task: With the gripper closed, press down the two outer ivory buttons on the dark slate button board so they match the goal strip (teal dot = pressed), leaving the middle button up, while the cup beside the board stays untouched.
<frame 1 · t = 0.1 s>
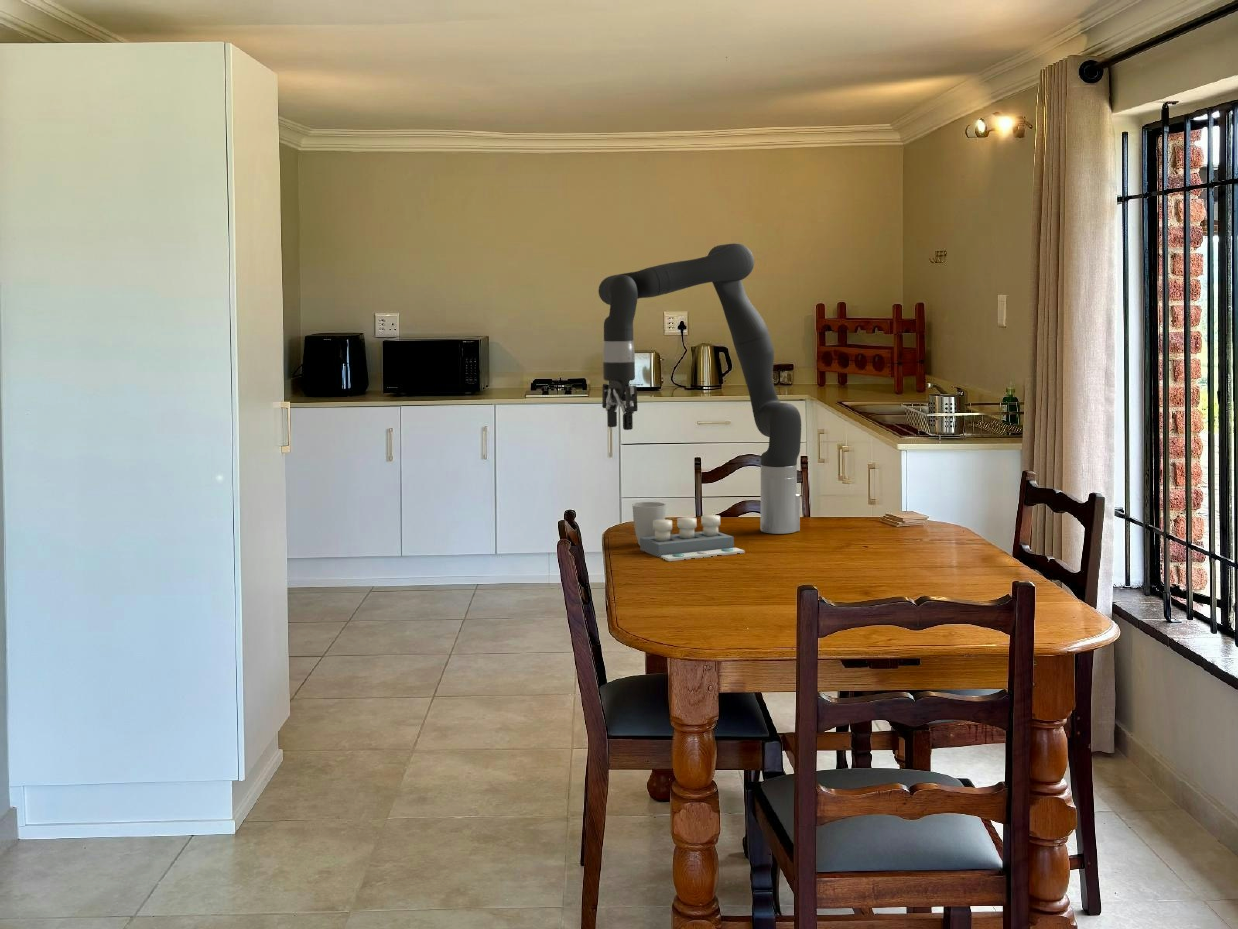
hand: (619, 428, 281), 29 cm above the table, tool pointing down, fingers open, 8 cm apart
board: (687, 549, 282), on the table
goal strip: (703, 555, 274), on the table
button c: (662, 530, 278), point 5 cm above the table, slide at 0.0 cm
button a: (710, 525, 284), point 5 cm above the table, slide at 0.0 cm
cup: (649, 545, 288), on the table
button b: (686, 528, 281), point 5 cm above the table, slide at 0.0 cm
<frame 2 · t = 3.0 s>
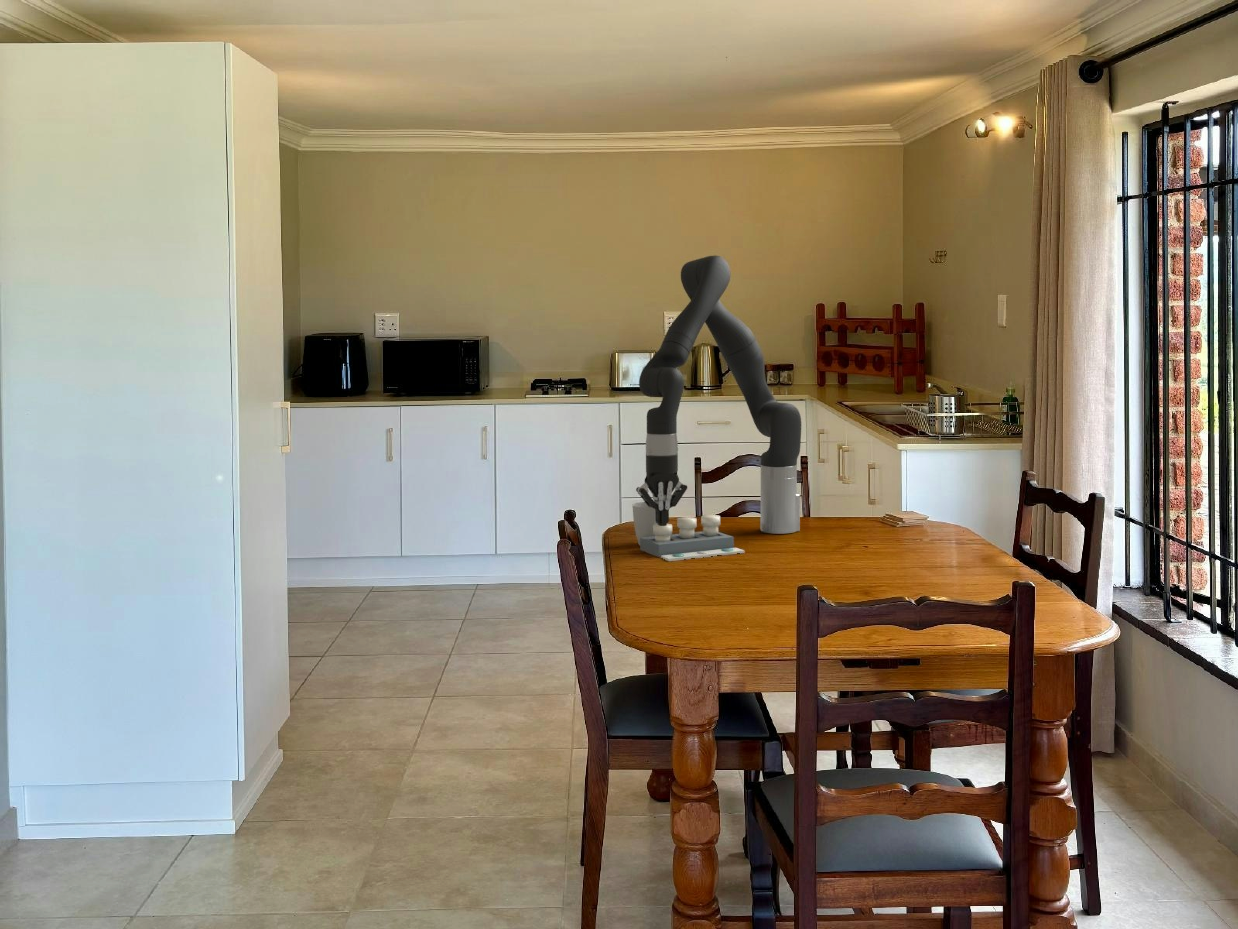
hand: (662, 525, 278), 6 cm above the table, tool pointing down, fingers closed
button c: (662, 534, 278), point 4 cm above the table, slide at 1.0 cm, touching gripper
everything else where it was.
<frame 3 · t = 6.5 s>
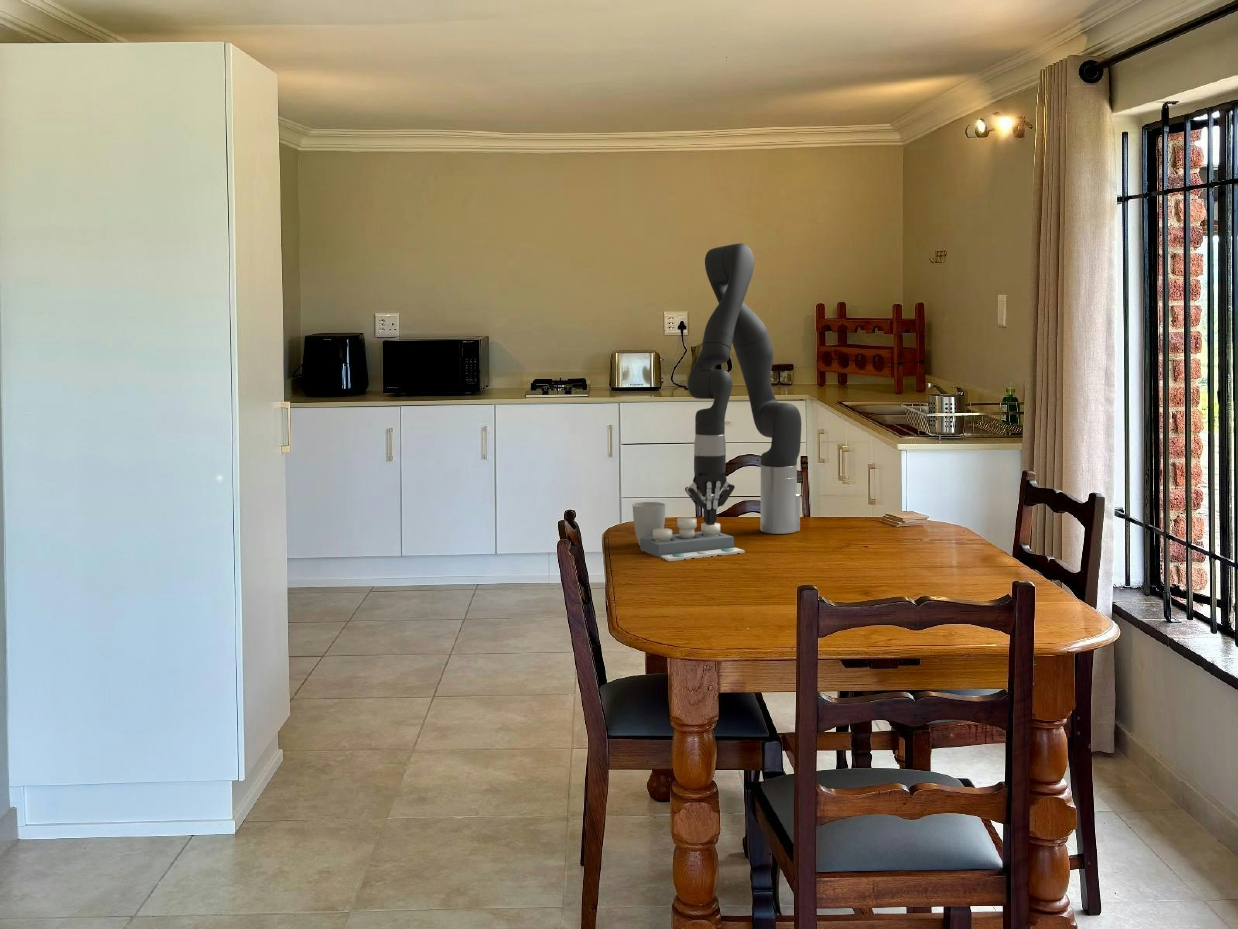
hand: (709, 524, 284), 6 cm above the table, tool pointing down, fingers closed
button c: (662, 539, 279), point 3 cm above the table, slide at 2.2 cm
button a: (710, 533, 284), point 3 cm above the table, slide at 1.9 cm, touching gripper
everything else where it was.
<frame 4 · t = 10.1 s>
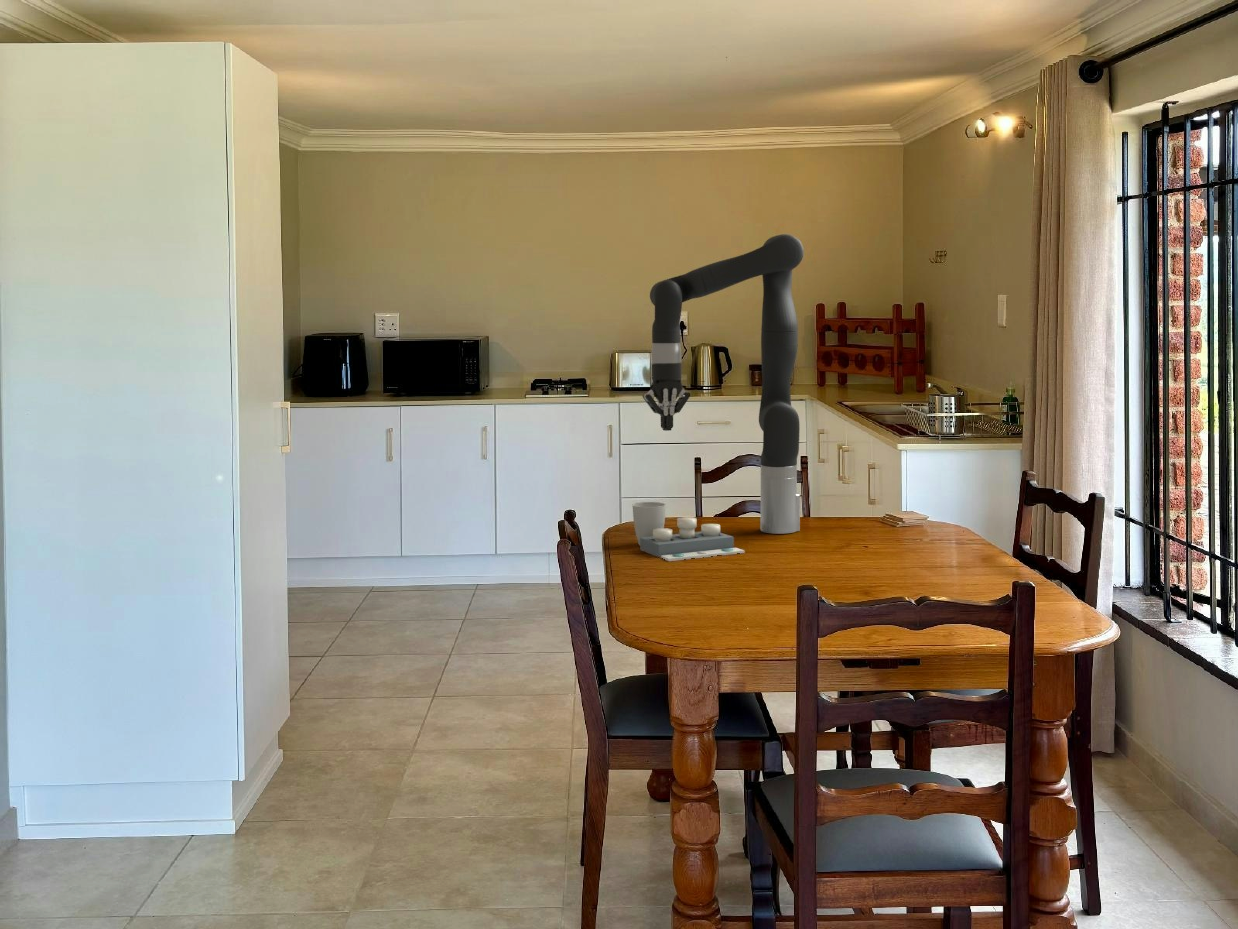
hand: (666, 430, 296), 27 cm above the table, tool pointing down, fingers closed
button a: (710, 534, 284), point 3 cm above the table, slide at 2.2 cm
everything else where it was.
at the end: button c slide at 2.2 cm; button a slide at 2.2 cm; button b slide at 0.0 cm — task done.
